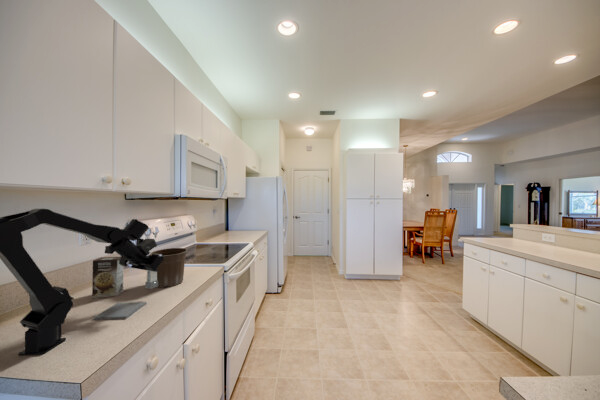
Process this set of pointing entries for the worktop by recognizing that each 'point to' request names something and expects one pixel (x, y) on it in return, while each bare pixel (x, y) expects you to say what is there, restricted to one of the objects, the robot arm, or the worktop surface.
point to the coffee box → (107, 277)
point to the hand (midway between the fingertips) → (155, 270)
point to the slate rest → (120, 310)
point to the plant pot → (171, 266)
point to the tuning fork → (151, 280)
